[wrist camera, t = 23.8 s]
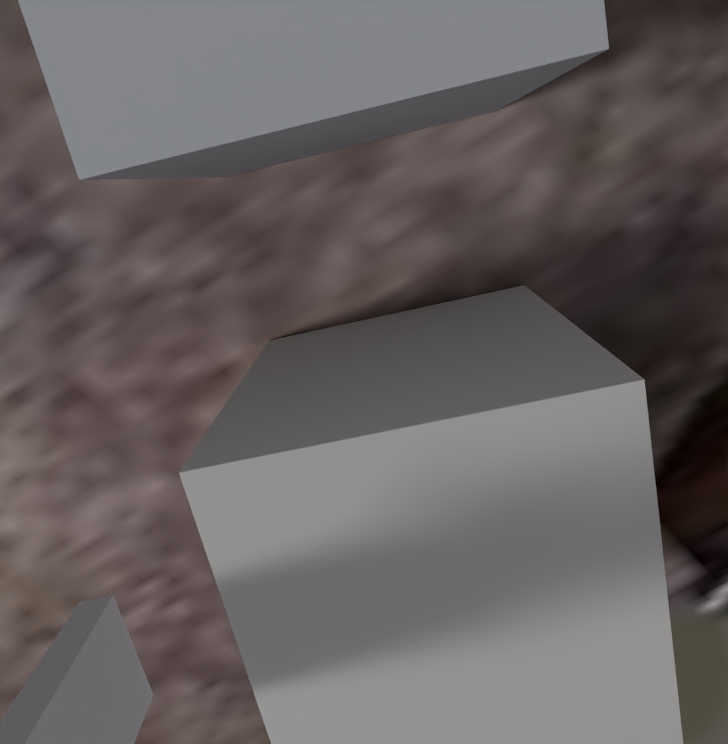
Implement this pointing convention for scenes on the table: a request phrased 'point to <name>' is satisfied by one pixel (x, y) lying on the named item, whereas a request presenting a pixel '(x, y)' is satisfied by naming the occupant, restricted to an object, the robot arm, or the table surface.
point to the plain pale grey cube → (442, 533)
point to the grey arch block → (286, 74)
